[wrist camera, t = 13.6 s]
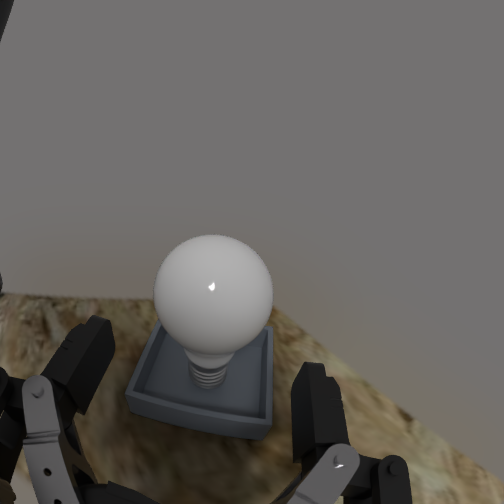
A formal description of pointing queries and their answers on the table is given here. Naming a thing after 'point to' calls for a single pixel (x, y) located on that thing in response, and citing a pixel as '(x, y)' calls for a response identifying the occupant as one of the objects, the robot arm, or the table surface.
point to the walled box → (205, 400)
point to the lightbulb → (212, 302)
